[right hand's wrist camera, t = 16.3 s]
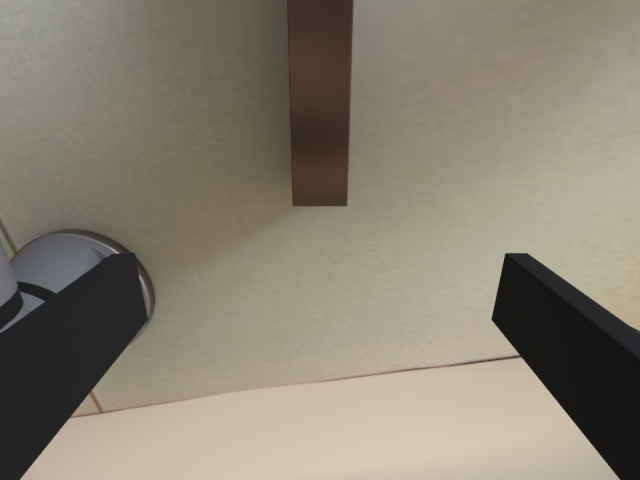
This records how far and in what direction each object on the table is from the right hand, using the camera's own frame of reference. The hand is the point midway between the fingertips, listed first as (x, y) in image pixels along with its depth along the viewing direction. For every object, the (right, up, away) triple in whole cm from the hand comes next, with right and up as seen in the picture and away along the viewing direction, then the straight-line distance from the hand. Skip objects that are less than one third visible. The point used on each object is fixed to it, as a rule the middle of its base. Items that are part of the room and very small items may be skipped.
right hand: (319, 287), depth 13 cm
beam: (0, +20, +19) cm, 28 cm away
